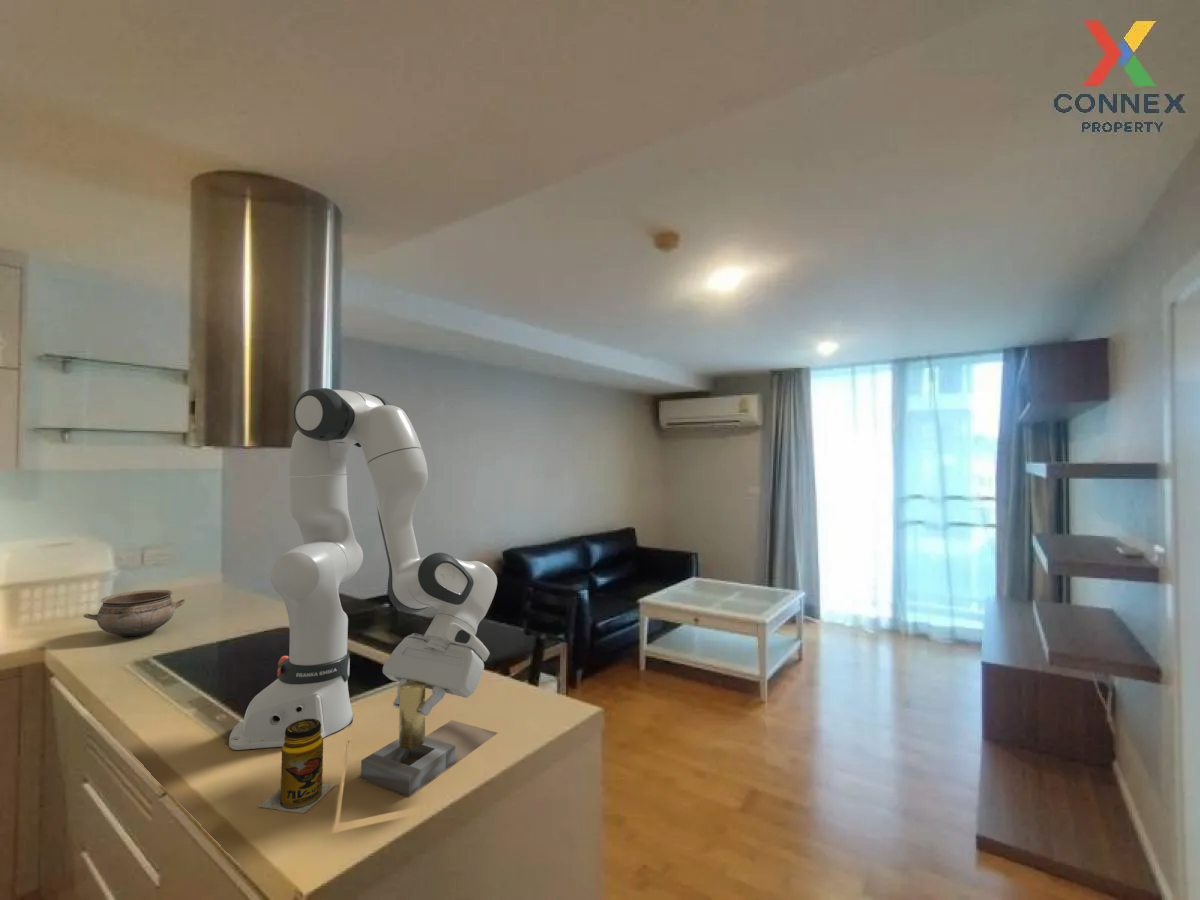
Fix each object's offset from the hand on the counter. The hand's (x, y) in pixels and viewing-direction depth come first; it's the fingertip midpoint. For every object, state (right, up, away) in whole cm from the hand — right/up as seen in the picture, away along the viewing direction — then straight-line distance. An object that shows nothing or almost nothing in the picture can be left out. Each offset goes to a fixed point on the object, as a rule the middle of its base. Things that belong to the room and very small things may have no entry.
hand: (409, 710), depth 95 cm
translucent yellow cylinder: (0, -6, 0) cm, 6 cm away
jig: (+2, -12, +6) cm, 13 cm away
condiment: (-17, -12, -6) cm, 21 cm away
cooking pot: (-114, -13, +76) cm, 138 cm away
